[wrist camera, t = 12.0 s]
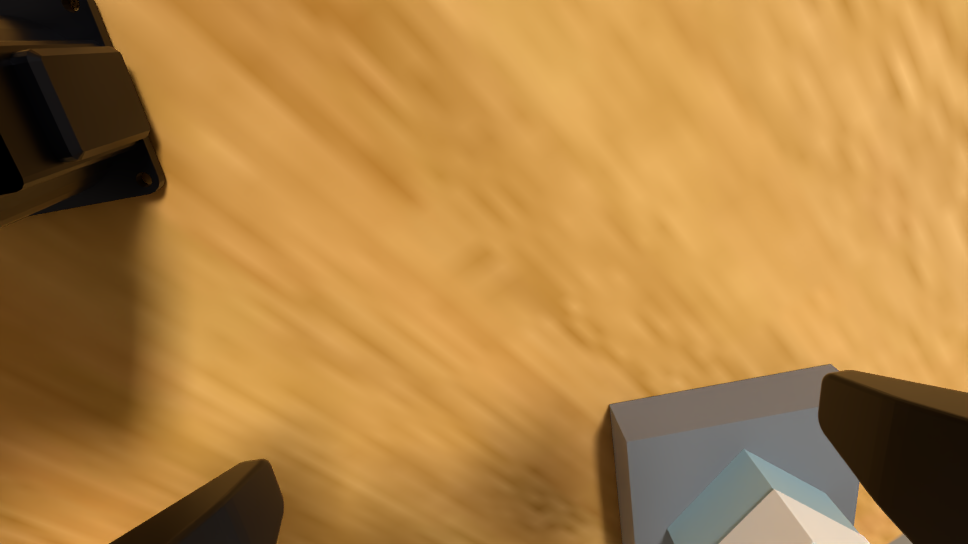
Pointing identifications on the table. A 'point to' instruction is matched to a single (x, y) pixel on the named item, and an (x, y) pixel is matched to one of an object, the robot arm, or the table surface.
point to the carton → (762, 510)
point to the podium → (720, 446)
